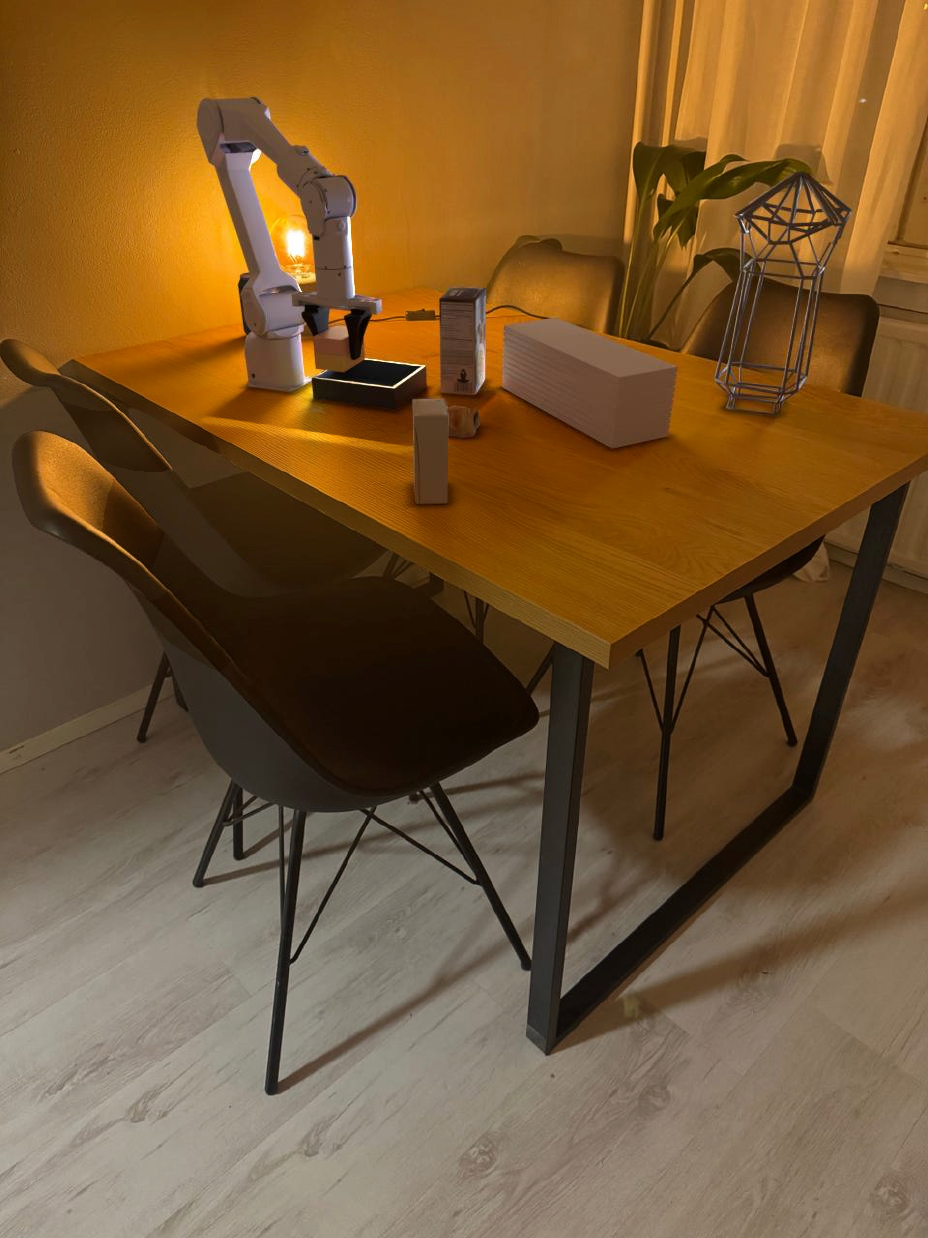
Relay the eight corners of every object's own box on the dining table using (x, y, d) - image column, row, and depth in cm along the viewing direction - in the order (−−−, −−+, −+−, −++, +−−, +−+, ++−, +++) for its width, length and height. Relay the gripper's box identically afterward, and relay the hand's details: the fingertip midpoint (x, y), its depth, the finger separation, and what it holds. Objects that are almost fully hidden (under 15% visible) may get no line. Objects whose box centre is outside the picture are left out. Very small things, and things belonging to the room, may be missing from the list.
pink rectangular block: (315, 368, 137) (312, 336, 135) (337, 355, 143) (335, 324, 141) (344, 372, 136) (341, 339, 133) (365, 358, 142) (363, 327, 139)
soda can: (251, 330, 184) (243, 270, 178) (282, 331, 183) (276, 271, 177) (239, 339, 178) (231, 277, 172) (272, 340, 177) (265, 278, 171)
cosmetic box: (413, 485, 118) (410, 397, 112) (446, 484, 118) (445, 397, 112) (415, 505, 113) (412, 414, 106) (449, 504, 113) (449, 414, 107)
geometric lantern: (719, 385, 154) (756, 163, 135) (812, 399, 148) (864, 168, 129) (698, 413, 142) (735, 173, 123) (798, 428, 136) (853, 180, 117)
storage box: (313, 400, 147) (311, 377, 145) (349, 377, 157) (348, 356, 155) (395, 411, 142) (394, 388, 140) (426, 387, 153) (426, 365, 151)
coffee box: (450, 378, 157) (450, 285, 148) (485, 380, 156) (487, 286, 147) (439, 394, 150) (438, 297, 141) (476, 397, 149) (477, 299, 140)
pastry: (414, 434, 134) (413, 410, 132) (425, 420, 139) (424, 396, 137) (474, 439, 132) (474, 415, 130) (482, 424, 138) (483, 401, 136)
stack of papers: (502, 387, 153) (503, 324, 147) (552, 378, 157) (556, 317, 151) (612, 448, 129) (619, 377, 123) (668, 436, 134) (677, 366, 128)
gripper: (388, 264, 133) (392, 354, 140) (304, 257, 137) (312, 345, 144) (368, 273, 127) (373, 366, 134) (281, 266, 131) (290, 356, 139)
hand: (340, 356), depth 139 cm, fingers closed on pink rectangular block, 5 cm apart
